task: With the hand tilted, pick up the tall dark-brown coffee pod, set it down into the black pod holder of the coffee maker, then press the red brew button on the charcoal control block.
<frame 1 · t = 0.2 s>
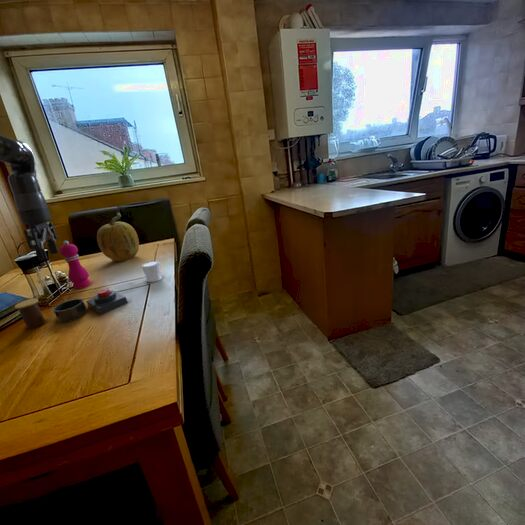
hand: (49, 256, 92), 19 cm above the table, tool pointing down, fingers open, 8 cm apart
pepper mill: (82, 286, 118), on the table
pod holder: (72, 315, 93), on the table
pumpkin: (124, 259, 149), on the table
white short cylinder: (154, 279, 115), on the table
brew button: (103, 293, 96), point 5 cm above the table, slide at 0.1 cm
coffee pod: (36, 324, 90), on the table
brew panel: (108, 304, 97), on the table
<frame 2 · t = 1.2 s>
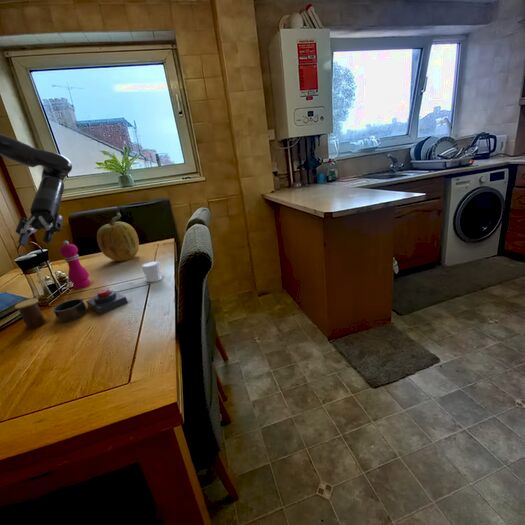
hand: (34, 243, 92), 24 cm above the table, tool tilted 45°, fingers open, 8 cm apart
nothing on the table moved.
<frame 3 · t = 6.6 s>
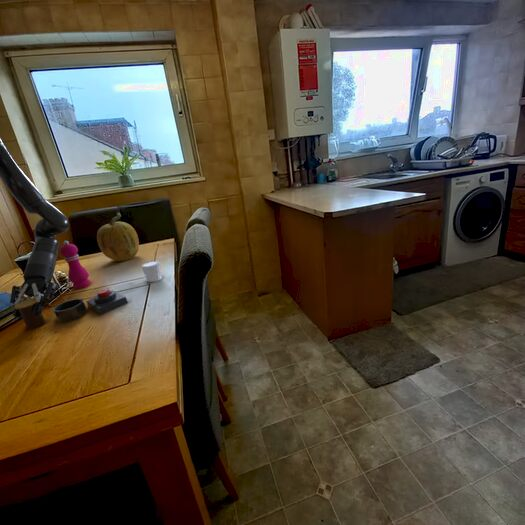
hand: (26, 315, 87), 4 cm above the table, tool tilted 45°, fingers closed on coffee pod, 5 cm apart
coffee pod: (36, 324, 90), on the table, touching gripper
everything else where it was.
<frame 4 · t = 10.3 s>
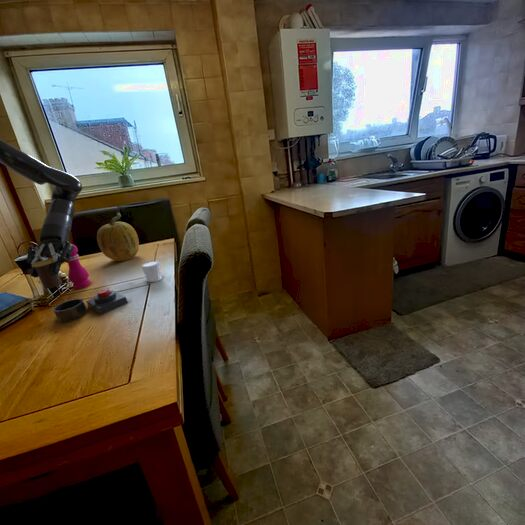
hand: (43, 275, 85), 16 cm above the table, tool tilted 45°, fingers closed on coffee pod, 5 cm apart
coffee pod: (53, 285, 88), point 12 cm above the table, touching gripper
everything else where it was.
when the fingers open (5 cm above the table, at t = 14.0 s): coffee pod stays where it is, resting on pod holder.
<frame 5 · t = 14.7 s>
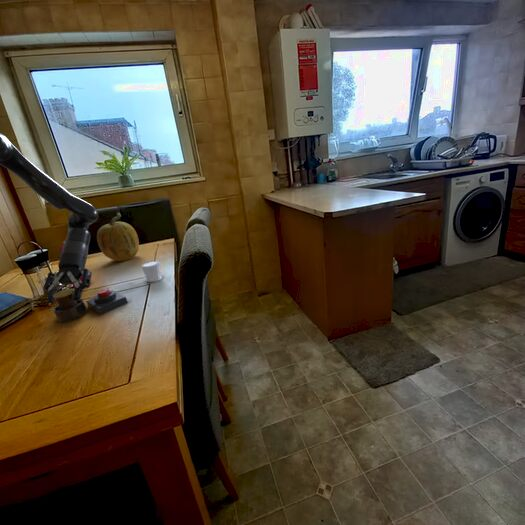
hand: (63, 301, 90), 6 cm above the table, tool tilted 45°, fingers open, 8 cm apart
coffee pod: (72, 313, 93), resting on pod holder
everything else where it was.
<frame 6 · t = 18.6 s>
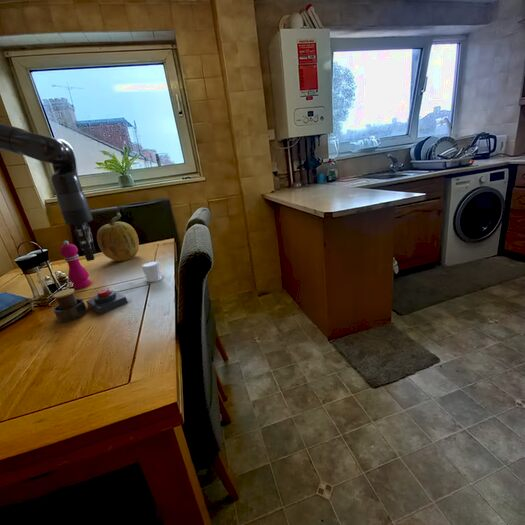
hand: (91, 257, 92), 18 cm above the table, tool pointing down, fingers open, 7 cm apart
nothing on the table moved.
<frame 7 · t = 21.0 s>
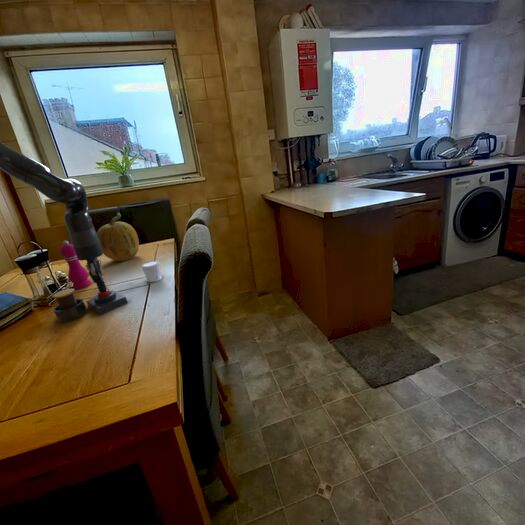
hand: (103, 291, 96), 5 cm above the table, tool pointing down, fingers closed
brew button: (104, 293, 96), point 4 cm above the table, slide at 0.1 cm, touching gripper
everything else where it was.
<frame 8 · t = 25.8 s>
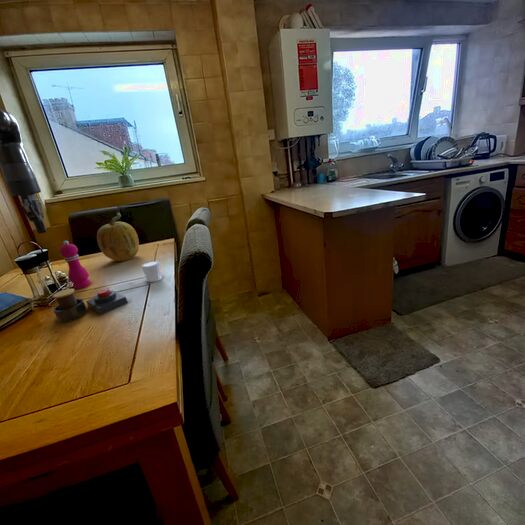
hand: (42, 232, 93), 27 cm above the table, tool pointing down, fingers closed
brew button: (103, 293, 96), point 5 cm above the table, slide at 0.1 cm
everything else where it was.
at the end: coffee pod 0.1 cm off-centre in the pod holder, point 0.5 cm above the pod holder's base; brew button pushed in 0.9 cm at the most during the clip, back to where it started at the end; brew button slide at 0.1 cm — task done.
